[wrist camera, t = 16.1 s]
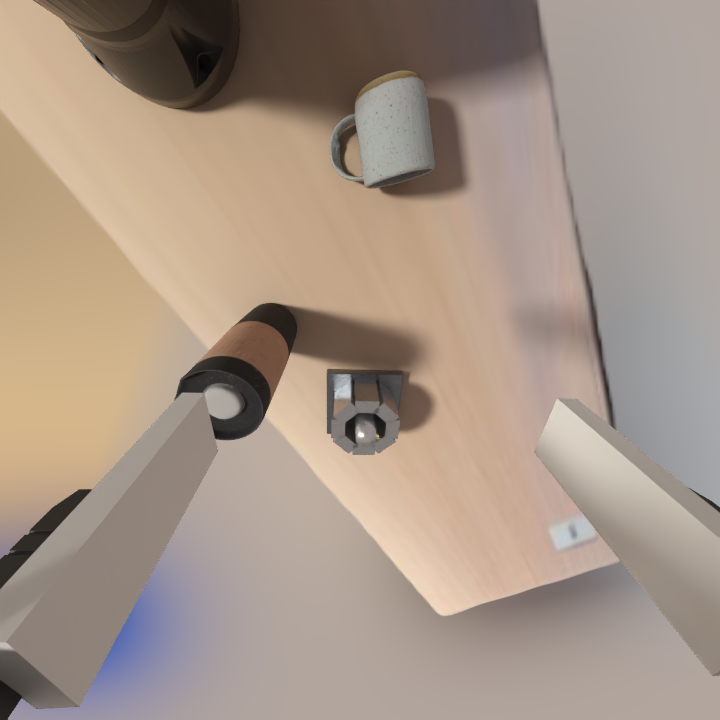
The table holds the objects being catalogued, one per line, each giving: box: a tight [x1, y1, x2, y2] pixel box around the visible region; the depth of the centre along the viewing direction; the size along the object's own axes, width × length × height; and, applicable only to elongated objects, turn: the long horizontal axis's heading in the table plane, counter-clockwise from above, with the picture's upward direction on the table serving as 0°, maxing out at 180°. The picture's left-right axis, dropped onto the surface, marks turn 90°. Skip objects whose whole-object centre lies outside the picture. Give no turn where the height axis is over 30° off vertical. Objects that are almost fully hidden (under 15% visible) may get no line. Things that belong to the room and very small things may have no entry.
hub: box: [331, 379, 400, 455], centre depth 45 cm, size 10×10×6 cm
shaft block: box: [327, 369, 403, 448], centre depth 45 cm, size 12×12×10 cm
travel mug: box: [174, 303, 297, 440], centre depth 33 cm, size 8×8×20 cm
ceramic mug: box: [330, 70, 435, 188], centre depth 30 cm, size 11×8×8 cm
